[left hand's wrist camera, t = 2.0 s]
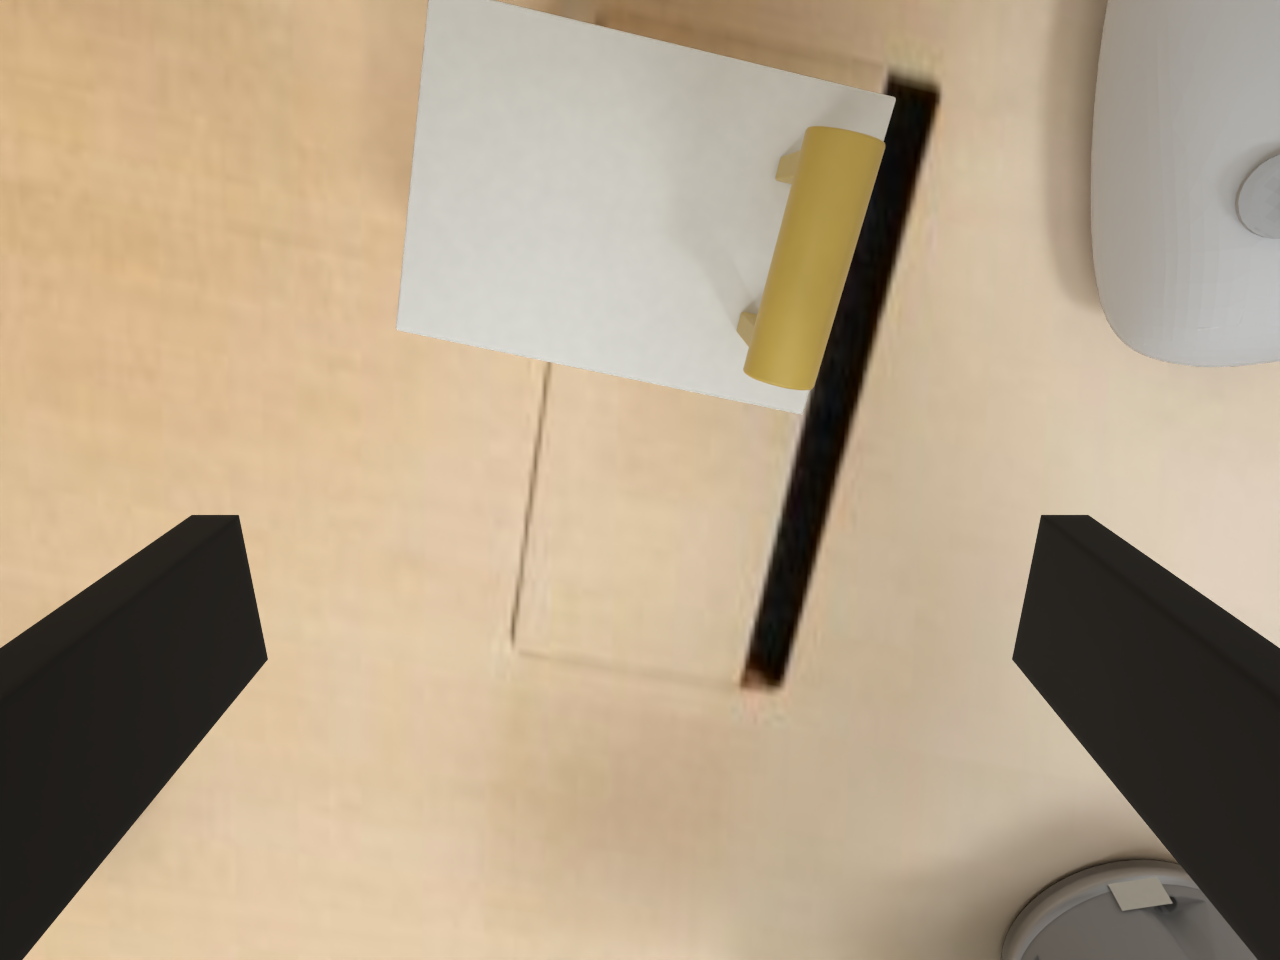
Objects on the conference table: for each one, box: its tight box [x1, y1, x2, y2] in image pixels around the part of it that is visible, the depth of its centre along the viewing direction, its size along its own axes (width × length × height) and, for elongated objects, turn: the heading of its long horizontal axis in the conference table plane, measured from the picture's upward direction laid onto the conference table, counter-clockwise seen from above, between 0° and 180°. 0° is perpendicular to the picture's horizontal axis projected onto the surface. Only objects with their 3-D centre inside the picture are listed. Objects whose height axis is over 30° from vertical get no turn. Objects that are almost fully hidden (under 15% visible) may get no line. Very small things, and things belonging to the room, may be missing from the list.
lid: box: [396, 0, 896, 414], centre depth 20 cm, size 14×10×8 cm
